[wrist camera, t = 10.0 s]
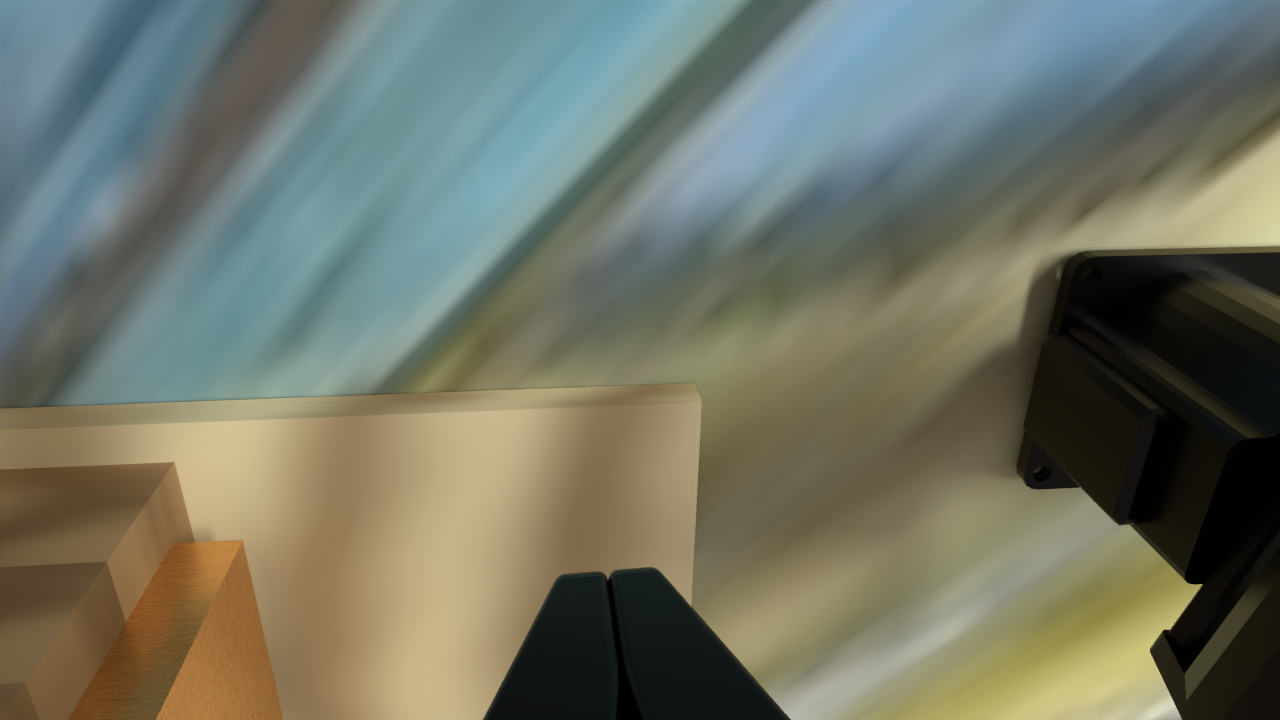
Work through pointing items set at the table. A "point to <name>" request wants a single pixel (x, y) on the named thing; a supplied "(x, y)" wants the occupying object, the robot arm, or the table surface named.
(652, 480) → the hitch block
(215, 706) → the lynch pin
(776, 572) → the table surface
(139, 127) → the table surface
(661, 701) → the robot arm
